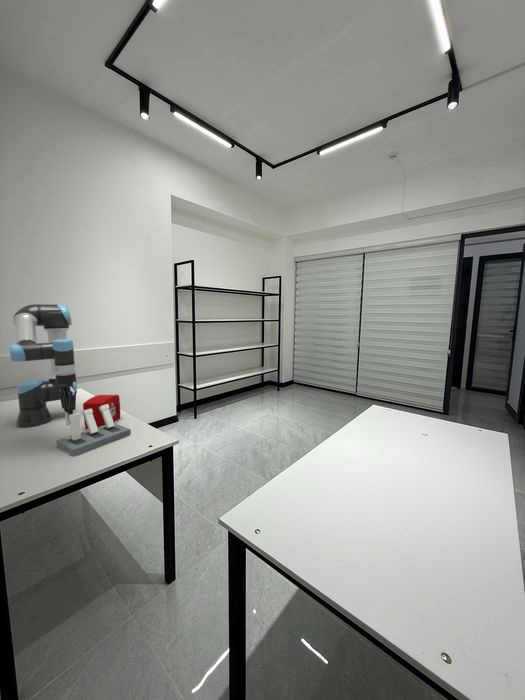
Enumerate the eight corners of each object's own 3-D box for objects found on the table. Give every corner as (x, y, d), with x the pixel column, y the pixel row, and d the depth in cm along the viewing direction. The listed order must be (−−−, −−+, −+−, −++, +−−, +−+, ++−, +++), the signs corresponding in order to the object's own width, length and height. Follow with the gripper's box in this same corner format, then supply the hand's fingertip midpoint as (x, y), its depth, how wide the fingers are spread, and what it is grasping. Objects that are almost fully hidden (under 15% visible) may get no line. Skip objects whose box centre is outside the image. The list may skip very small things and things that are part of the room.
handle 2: (106, 429, 143) (98, 407, 145) (113, 426, 146) (106, 405, 148) (108, 427, 141) (100, 405, 143) (115, 425, 144) (108, 404, 146)
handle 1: (89, 434, 136) (81, 412, 138) (97, 432, 139) (89, 409, 141) (91, 433, 135) (83, 410, 137) (99, 430, 138) (91, 408, 140)
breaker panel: (56, 446, 131) (56, 440, 130) (113, 427, 152) (112, 422, 152) (73, 456, 122) (73, 449, 122) (130, 435, 144) (130, 429, 143)
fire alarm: (105, 429, 150) (103, 401, 148) (84, 429, 150) (82, 401, 148) (121, 418, 166) (119, 393, 164) (102, 418, 166) (100, 393, 164)
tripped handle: (71, 439, 129) (68, 414, 128) (79, 436, 132) (77, 412, 131) (73, 440, 128) (71, 415, 126) (82, 438, 131) (80, 413, 129)
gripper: (49, 373, 129) (54, 424, 132) (62, 377, 122) (67, 430, 125) (68, 370, 136) (72, 419, 139) (81, 374, 128) (86, 424, 131)
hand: (70, 424), depth 132 cm, fingers closed
